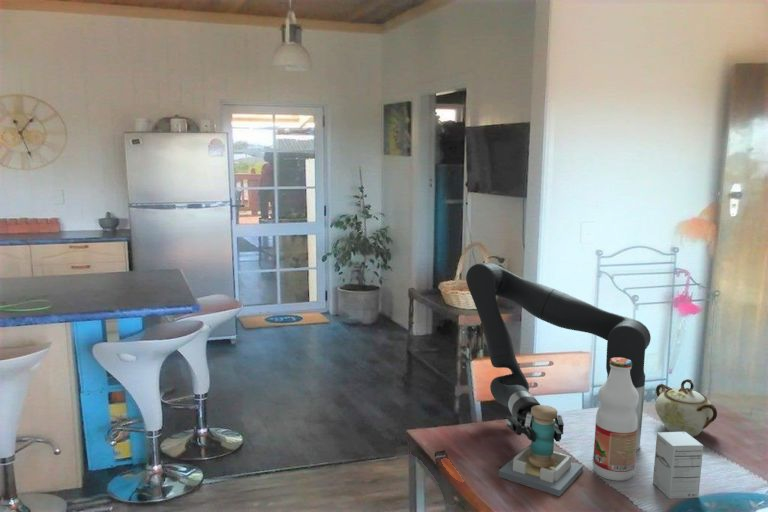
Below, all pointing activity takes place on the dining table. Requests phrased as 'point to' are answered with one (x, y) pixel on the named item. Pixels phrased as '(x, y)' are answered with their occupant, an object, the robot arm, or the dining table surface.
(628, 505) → the dining table surface
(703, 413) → the sugar bowl
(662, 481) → the supplement box
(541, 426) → the spool
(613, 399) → the fruit juice
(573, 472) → the white grey square tray
